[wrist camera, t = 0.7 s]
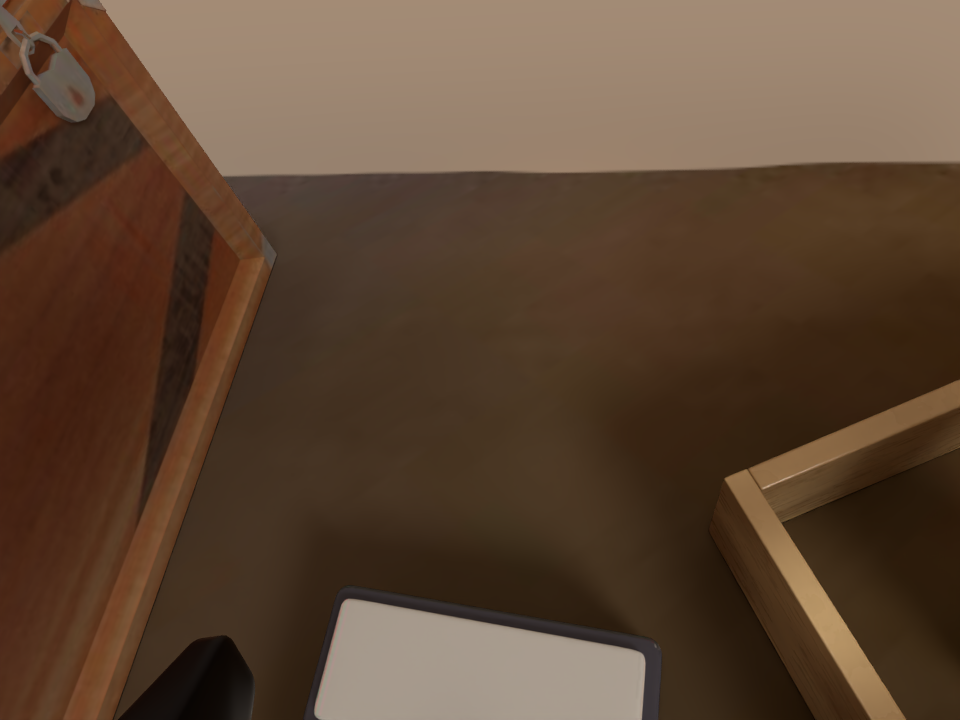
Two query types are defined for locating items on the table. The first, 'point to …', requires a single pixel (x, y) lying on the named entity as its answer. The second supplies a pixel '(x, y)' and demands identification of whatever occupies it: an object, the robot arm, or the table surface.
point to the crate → (782, 569)
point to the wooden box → (102, 348)
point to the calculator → (475, 665)
